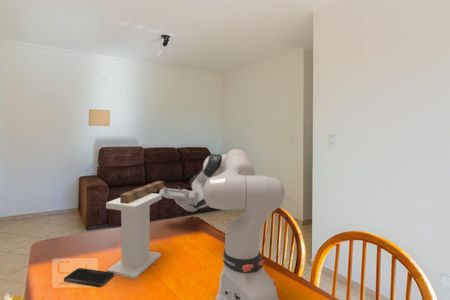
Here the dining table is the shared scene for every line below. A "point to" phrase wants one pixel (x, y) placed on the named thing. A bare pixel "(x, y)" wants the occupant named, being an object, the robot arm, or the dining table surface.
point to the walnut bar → (141, 192)
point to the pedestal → (134, 236)
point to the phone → (89, 277)
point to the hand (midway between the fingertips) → (173, 189)
